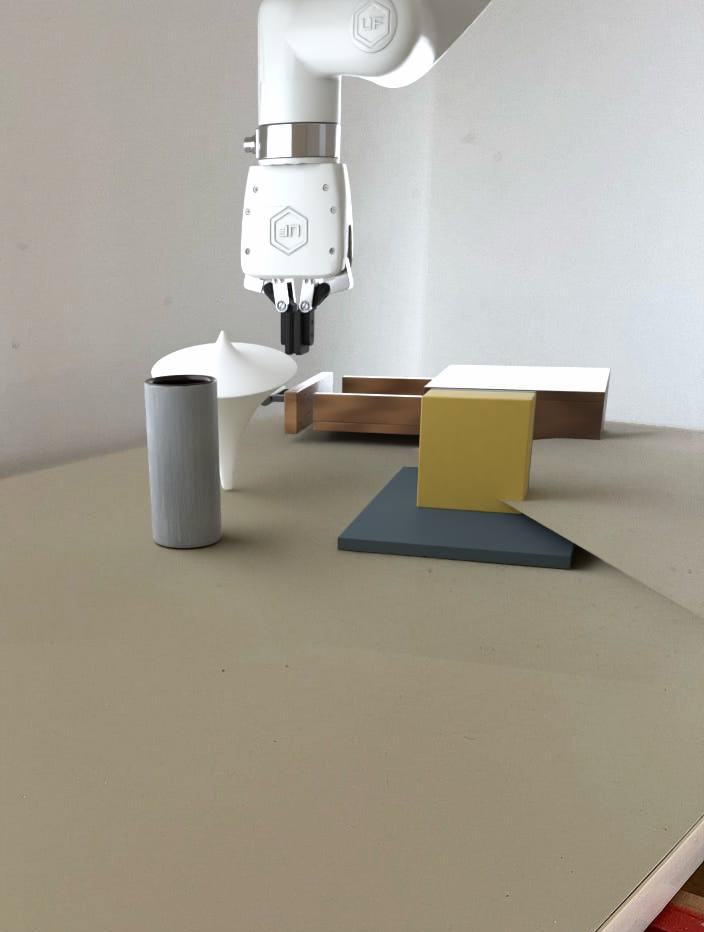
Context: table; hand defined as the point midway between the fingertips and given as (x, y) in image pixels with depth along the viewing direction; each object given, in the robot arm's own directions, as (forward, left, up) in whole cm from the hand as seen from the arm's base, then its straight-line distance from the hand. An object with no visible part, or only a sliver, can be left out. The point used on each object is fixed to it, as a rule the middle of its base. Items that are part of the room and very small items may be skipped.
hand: (297, 352), depth 102 cm
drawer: (-3, +7, -6) cm, 10 cm away
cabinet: (-16, +15, -7) cm, 23 cm away
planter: (+17, +37, -7) cm, 42 cm away
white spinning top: (+12, +25, -7) cm, 29 cm away
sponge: (-3, +37, -6) cm, 38 cm away
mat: (-3, +37, -7) cm, 38 cm away
